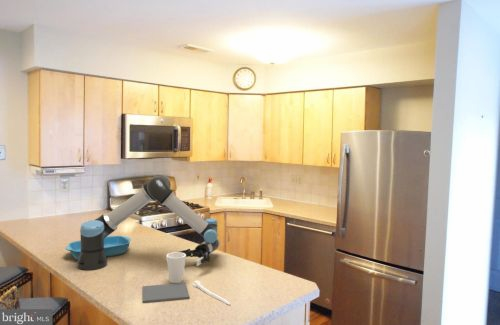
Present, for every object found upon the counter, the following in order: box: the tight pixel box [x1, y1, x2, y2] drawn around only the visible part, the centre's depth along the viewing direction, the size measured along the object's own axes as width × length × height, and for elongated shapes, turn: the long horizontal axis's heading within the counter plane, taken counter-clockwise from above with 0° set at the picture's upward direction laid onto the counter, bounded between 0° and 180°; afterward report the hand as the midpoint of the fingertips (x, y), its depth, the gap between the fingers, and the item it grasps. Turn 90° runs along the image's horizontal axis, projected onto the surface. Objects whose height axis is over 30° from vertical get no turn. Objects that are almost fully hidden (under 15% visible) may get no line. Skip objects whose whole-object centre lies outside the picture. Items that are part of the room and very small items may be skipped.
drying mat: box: [142, 282, 190, 304], centre depth 176 cm, size 20×16×1 cm
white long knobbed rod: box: [192, 280, 231, 306], centre depth 176 cm, size 28×4×3 cm, turn 43°
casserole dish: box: [65, 235, 132, 261], centre depth 229 cm, size 37×22×7 cm, turn 127°
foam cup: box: [165, 251, 187, 284], centre depth 190 cm, size 10×9×13 cm
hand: (185, 261), depth 199 cm, fingers open, 13 cm apart
